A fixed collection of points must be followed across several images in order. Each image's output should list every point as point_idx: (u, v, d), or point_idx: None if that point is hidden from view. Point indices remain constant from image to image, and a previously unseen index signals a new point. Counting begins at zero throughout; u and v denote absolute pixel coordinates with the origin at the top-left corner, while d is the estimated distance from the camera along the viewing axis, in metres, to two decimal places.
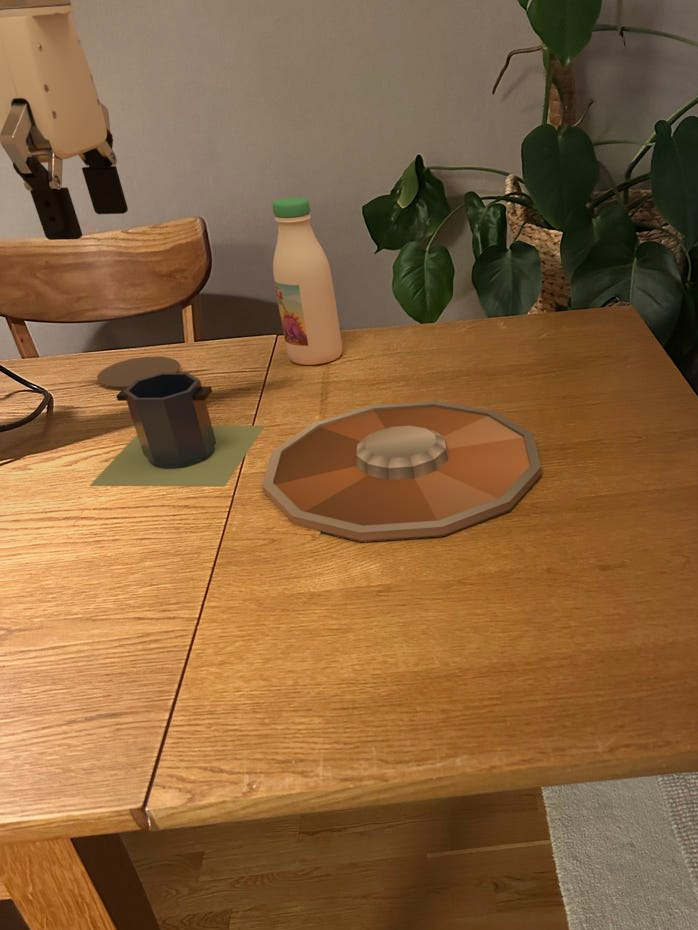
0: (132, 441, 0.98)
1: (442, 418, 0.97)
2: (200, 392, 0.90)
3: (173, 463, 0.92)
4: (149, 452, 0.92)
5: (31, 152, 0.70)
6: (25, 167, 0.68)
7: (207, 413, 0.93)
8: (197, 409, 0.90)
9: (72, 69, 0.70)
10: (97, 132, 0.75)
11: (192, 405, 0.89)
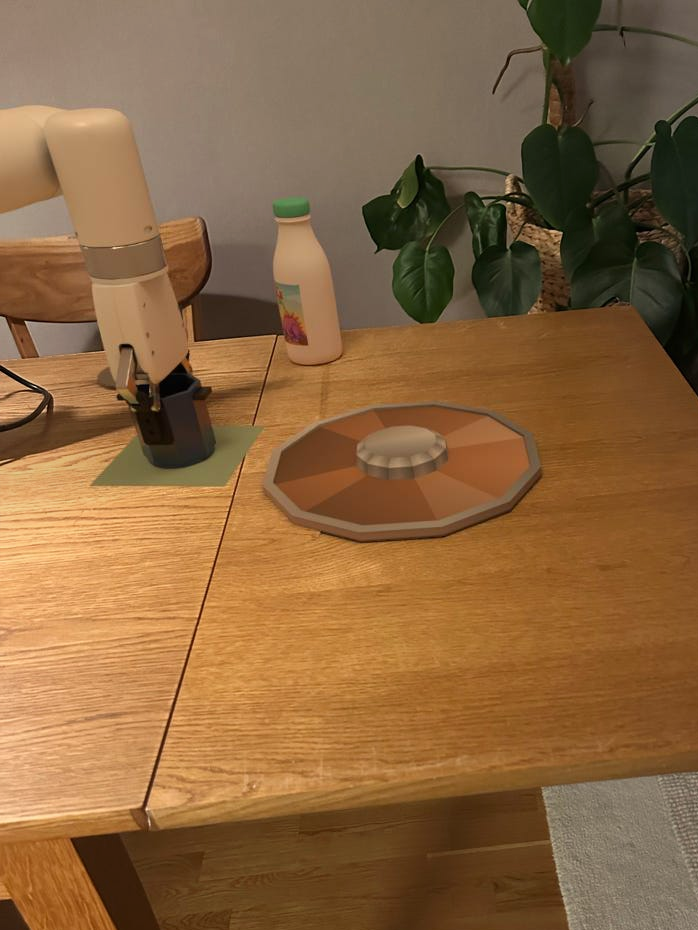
0: (132, 441, 0.98)
1: (442, 418, 0.97)
2: (200, 392, 0.90)
3: (173, 463, 0.92)
4: (149, 452, 0.92)
5: (135, 382, 0.86)
6: (135, 401, 0.84)
7: (207, 413, 0.93)
8: (197, 409, 0.90)
9: (165, 311, 0.85)
10: (182, 351, 0.90)
11: (192, 405, 0.89)
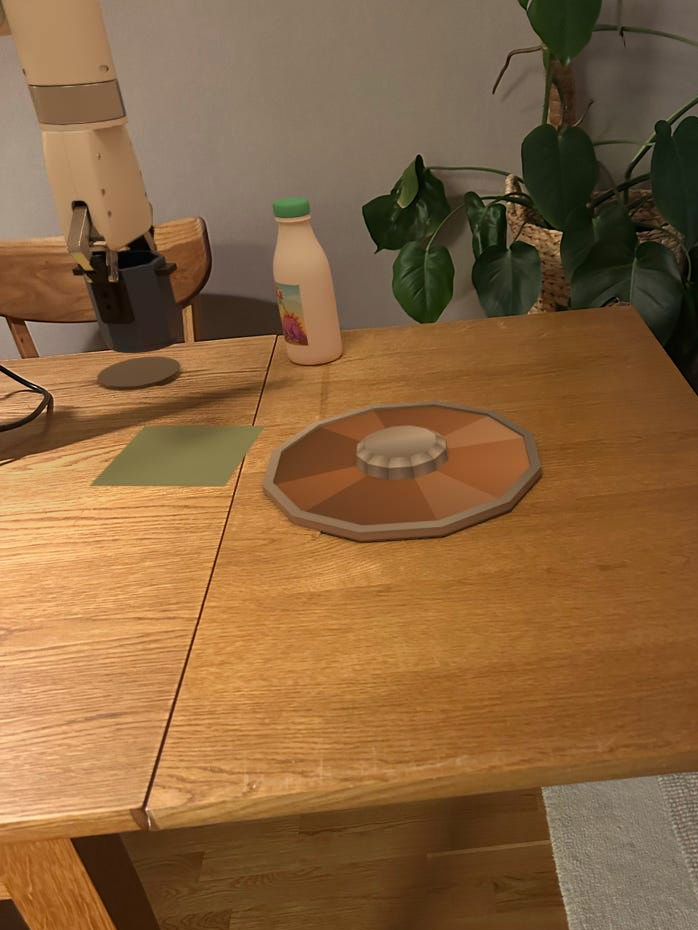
0: (132, 441, 0.98)
1: (442, 418, 0.97)
2: (164, 267, 0.82)
3: (134, 347, 0.84)
4: (108, 334, 0.84)
5: (90, 249, 0.78)
6: (89, 267, 0.77)
7: (172, 294, 0.86)
8: (160, 286, 0.83)
9: (125, 170, 0.78)
10: (144, 222, 0.83)
11: (154, 281, 0.82)
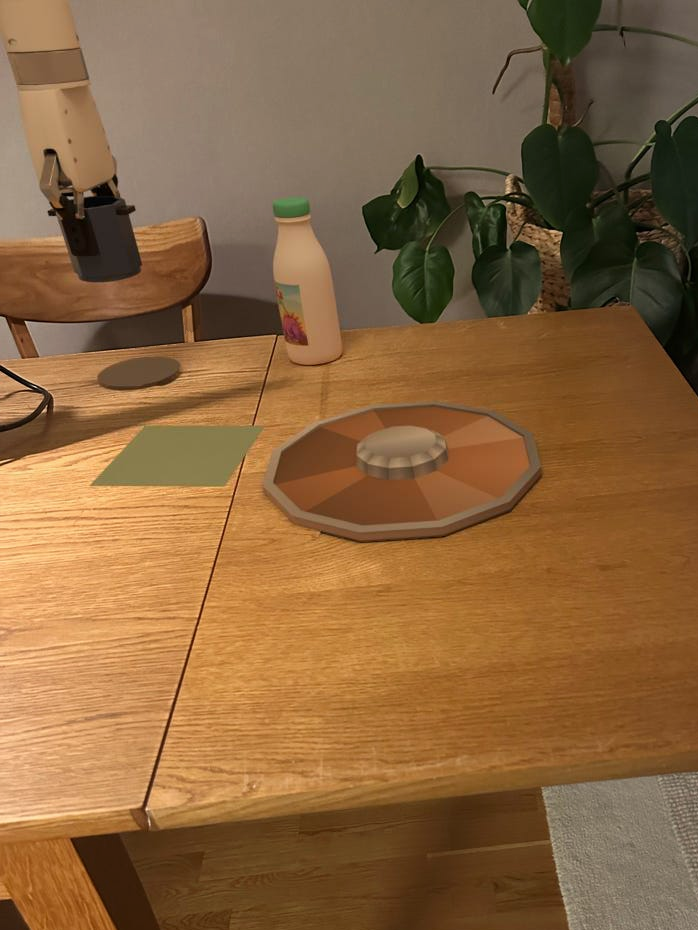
0: (132, 441, 0.98)
1: (442, 418, 0.97)
2: (124, 208, 0.98)
3: (99, 277, 1.00)
4: (78, 266, 1.00)
5: (60, 191, 0.94)
6: (58, 204, 0.92)
7: (132, 233, 1.01)
8: (121, 225, 0.99)
9: (89, 125, 0.94)
10: (107, 171, 0.98)
11: (116, 219, 0.98)
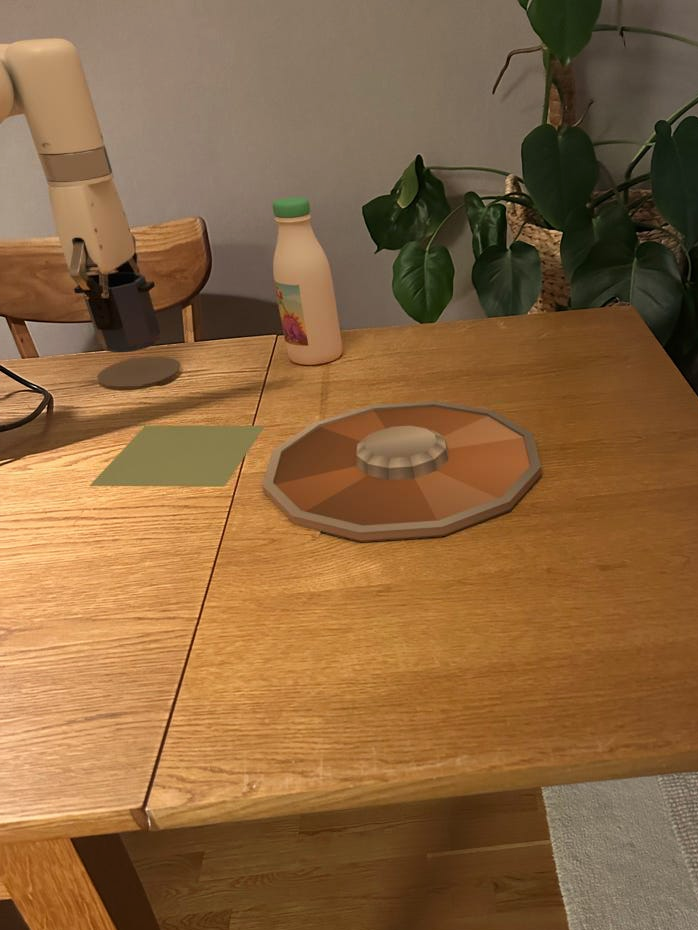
0: (132, 441, 0.98)
1: (442, 418, 0.97)
2: (144, 285, 1.07)
3: (122, 347, 1.09)
4: (102, 338, 1.09)
5: (87, 273, 1.03)
6: (86, 287, 1.01)
7: (151, 306, 1.10)
8: (142, 300, 1.07)
9: (112, 213, 1.02)
10: (128, 251, 1.07)
11: (137, 296, 1.07)
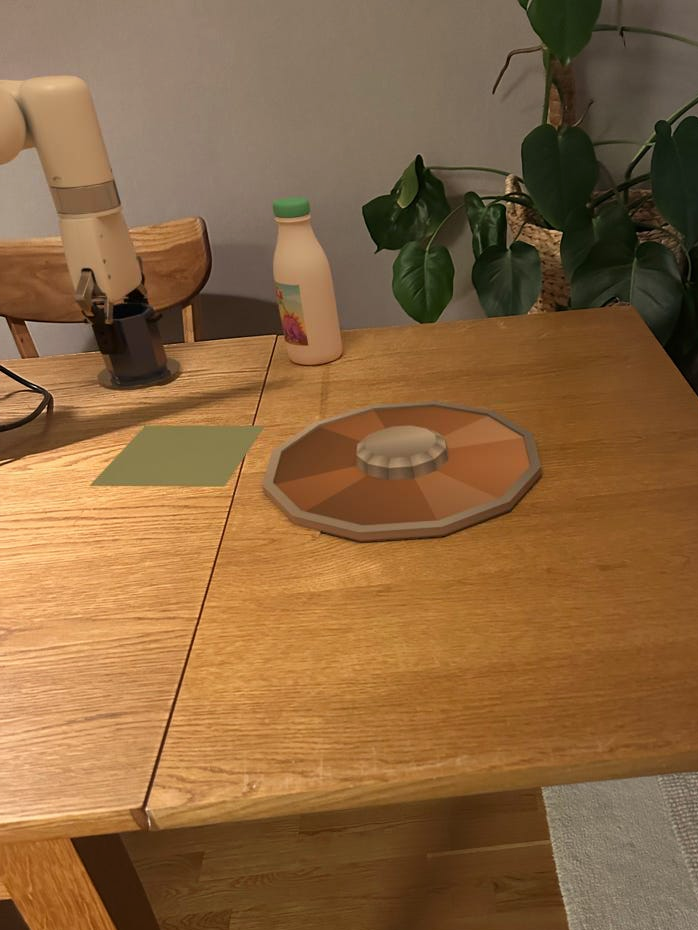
0: (132, 441, 0.98)
1: (442, 418, 0.97)
2: (152, 316, 1.09)
3: (131, 376, 1.11)
4: (111, 367, 1.11)
5: (92, 299, 1.04)
6: (90, 313, 1.02)
7: (159, 336, 1.12)
8: (150, 330, 1.10)
9: (120, 243, 1.05)
10: (135, 280, 1.09)
11: (145, 326, 1.09)
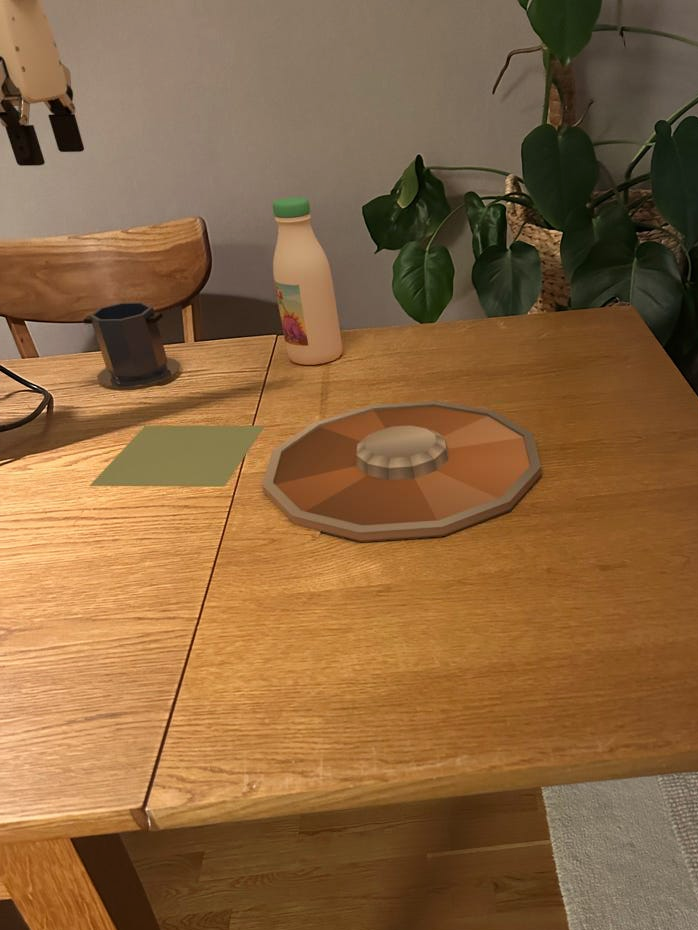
0: (132, 441, 0.98)
1: (442, 418, 0.97)
2: (152, 316, 1.09)
3: (131, 376, 1.11)
4: (111, 367, 1.11)
5: (6, 97, 0.94)
6: (0, 107, 0.92)
7: (159, 336, 1.12)
8: (150, 330, 1.10)
9: (38, 36, 0.95)
10: (58, 86, 0.99)
11: (145, 326, 1.09)
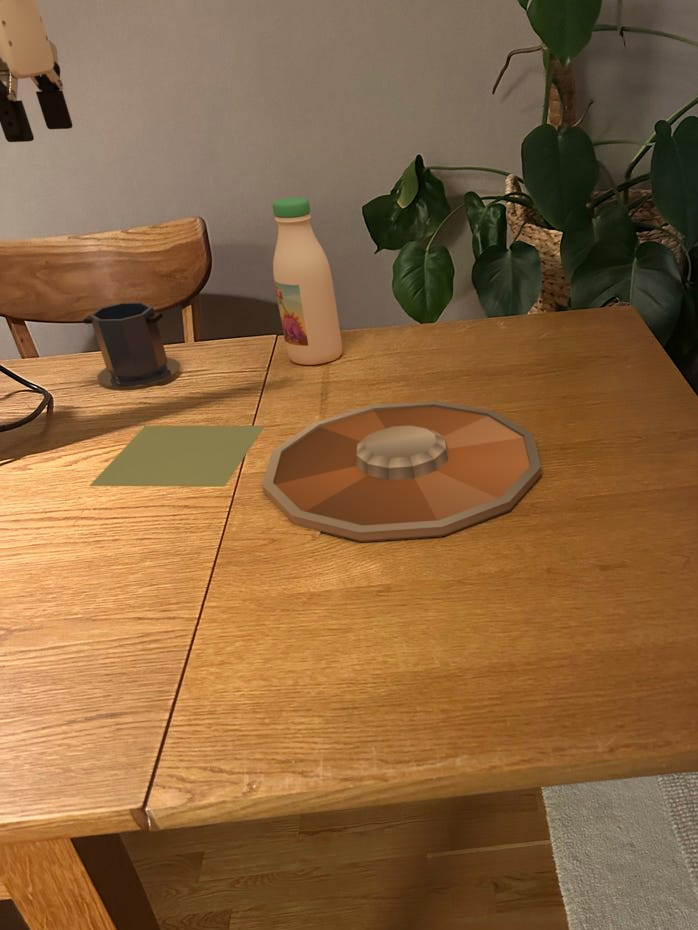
0: (132, 441, 0.98)
1: (442, 418, 0.97)
2: (152, 316, 1.09)
3: (131, 376, 1.11)
4: (111, 367, 1.11)
5: None
6: None
7: (159, 336, 1.12)
8: (150, 330, 1.10)
9: (24, 11, 0.94)
10: (46, 61, 0.99)
11: (145, 326, 1.09)
